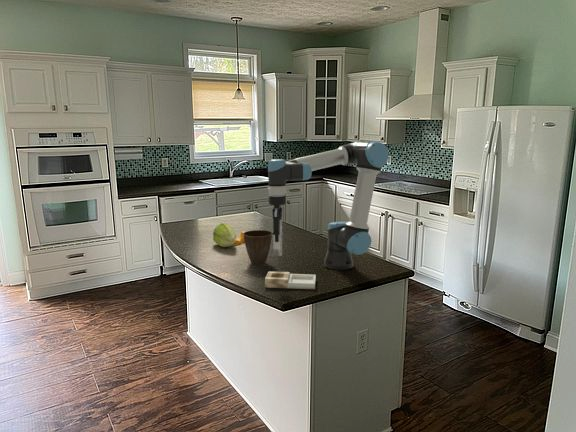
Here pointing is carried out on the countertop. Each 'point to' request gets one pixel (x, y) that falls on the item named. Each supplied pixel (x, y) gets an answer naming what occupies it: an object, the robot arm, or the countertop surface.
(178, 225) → the countertop surface
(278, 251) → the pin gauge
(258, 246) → the plant pot
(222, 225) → the lettuce
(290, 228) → the countertop surface
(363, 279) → the countertop surface
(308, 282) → the tray
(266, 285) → the beige square frame
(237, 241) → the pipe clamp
